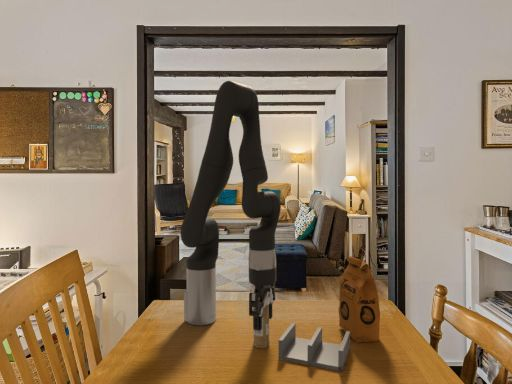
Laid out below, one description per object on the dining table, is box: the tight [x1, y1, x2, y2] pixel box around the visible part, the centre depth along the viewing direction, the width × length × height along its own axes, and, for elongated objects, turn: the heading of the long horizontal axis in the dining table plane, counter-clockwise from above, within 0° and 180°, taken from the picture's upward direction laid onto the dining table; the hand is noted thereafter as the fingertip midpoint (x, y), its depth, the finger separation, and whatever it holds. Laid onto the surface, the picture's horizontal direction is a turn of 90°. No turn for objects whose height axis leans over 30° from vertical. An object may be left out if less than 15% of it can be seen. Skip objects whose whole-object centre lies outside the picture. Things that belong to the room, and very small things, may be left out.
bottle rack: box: [277, 322, 351, 372], centre depth 99 cm, size 16×12×5 cm
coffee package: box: [337, 256, 381, 343], centre depth 111 cm, size 10×12×22 cm
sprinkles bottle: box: [252, 296, 270, 349], centre depth 104 cm, size 5×5×13 cm
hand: (263, 323), depth 104 cm, fingers open, 8 cm apart
